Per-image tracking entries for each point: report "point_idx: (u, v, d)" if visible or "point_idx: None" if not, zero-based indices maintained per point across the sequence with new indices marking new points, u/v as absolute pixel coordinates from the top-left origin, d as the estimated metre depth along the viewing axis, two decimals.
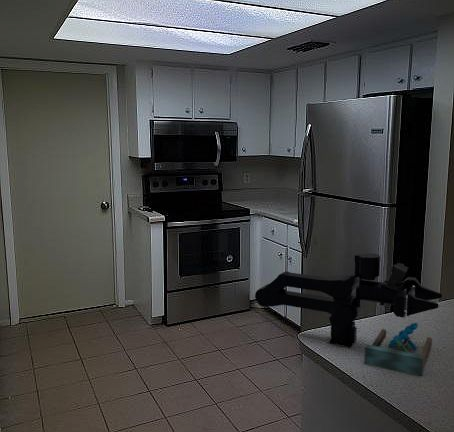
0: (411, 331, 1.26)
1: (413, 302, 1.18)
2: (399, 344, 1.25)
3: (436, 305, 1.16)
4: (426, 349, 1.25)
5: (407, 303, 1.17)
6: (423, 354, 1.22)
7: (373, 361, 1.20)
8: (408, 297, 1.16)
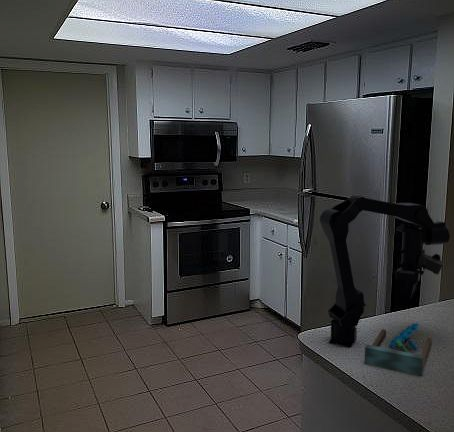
0: (411, 331, 1.26)
1: (410, 281, 1.33)
2: (399, 344, 1.25)
3: (409, 298, 1.35)
4: (426, 349, 1.25)
5: None
6: (423, 354, 1.22)
7: (373, 361, 1.20)
8: None
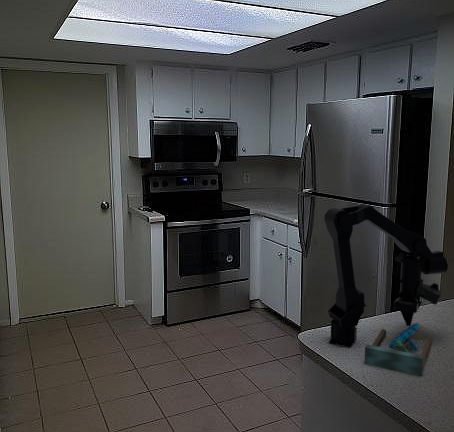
0: (412, 331, 1.26)
1: None
2: (399, 344, 1.25)
3: (408, 324, 1.38)
4: (426, 349, 1.25)
5: None
6: (423, 354, 1.22)
7: (373, 361, 1.20)
8: None
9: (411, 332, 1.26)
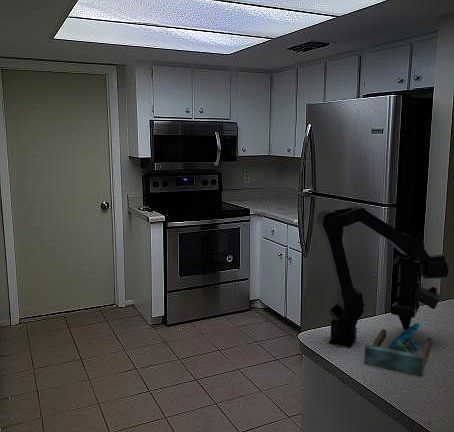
0: (412, 331, 1.26)
1: None
2: (399, 344, 1.25)
3: (406, 329, 1.35)
4: (426, 349, 1.25)
5: None
6: (423, 354, 1.22)
7: (373, 361, 1.20)
8: None
9: (411, 332, 1.26)
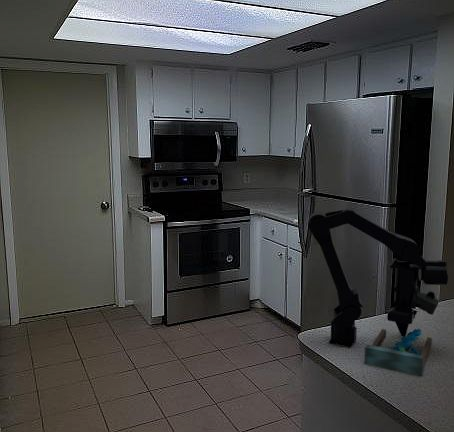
0: (415, 338, 1.21)
1: None
2: (403, 351, 1.20)
3: (403, 335, 1.30)
4: (426, 349, 1.25)
5: None
6: (423, 354, 1.22)
7: (373, 361, 1.20)
8: None
9: (414, 338, 1.21)
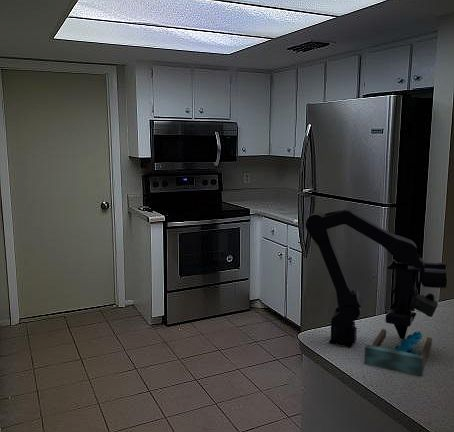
0: (416, 341, 1.19)
1: None
2: None
3: (402, 338, 1.29)
4: (426, 349, 1.25)
5: None
6: (423, 354, 1.22)
7: (373, 361, 1.20)
8: None
9: (415, 342, 1.19)
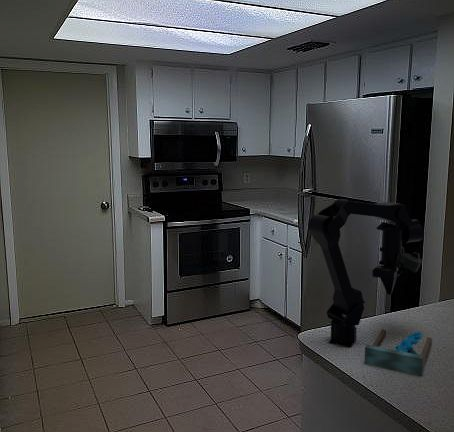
0: (416, 341, 1.19)
1: None
2: None
3: (389, 293, 1.40)
4: (426, 349, 1.25)
5: None
6: (423, 354, 1.22)
7: (373, 361, 1.20)
8: None
9: (415, 342, 1.19)
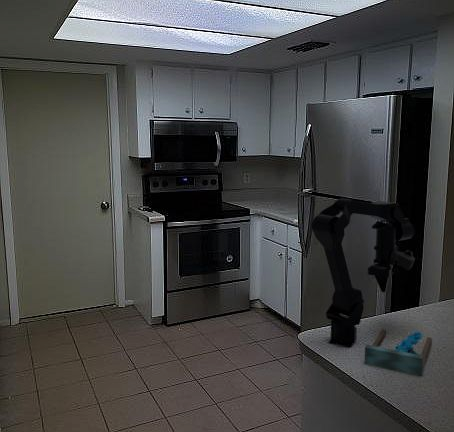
0: (416, 341, 1.19)
1: None
2: None
3: (383, 291, 1.42)
4: (426, 349, 1.25)
5: None
6: (423, 354, 1.22)
7: (373, 361, 1.20)
8: None
9: (415, 342, 1.19)
